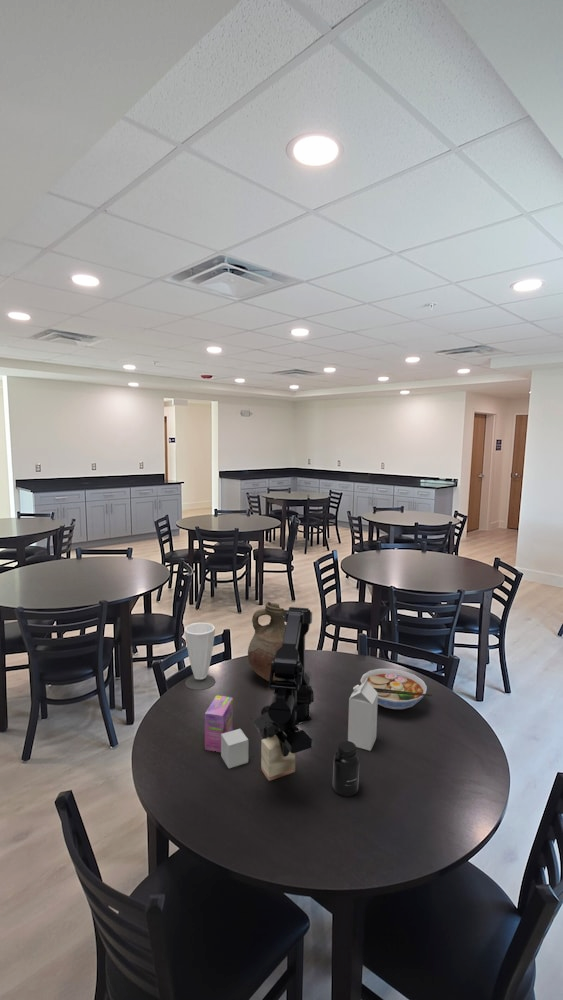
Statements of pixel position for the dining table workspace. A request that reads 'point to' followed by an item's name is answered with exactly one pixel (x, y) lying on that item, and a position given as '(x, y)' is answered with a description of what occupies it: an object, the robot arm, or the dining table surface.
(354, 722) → the milk carton
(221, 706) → the box
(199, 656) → the cup
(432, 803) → the dining table surface
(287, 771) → the birch block
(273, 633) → the jug
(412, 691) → the ramen bowl
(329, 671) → the dining table surface
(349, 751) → the supplement bottle
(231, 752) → the grey block
